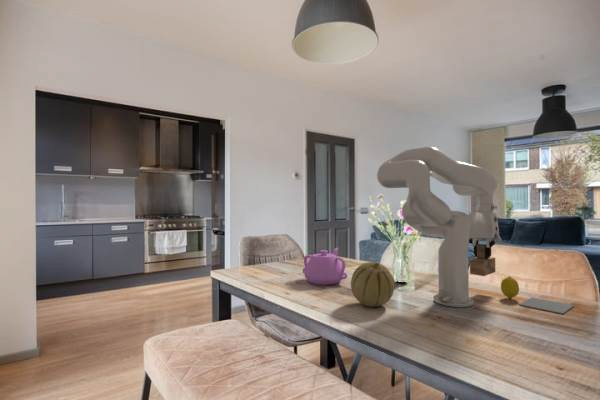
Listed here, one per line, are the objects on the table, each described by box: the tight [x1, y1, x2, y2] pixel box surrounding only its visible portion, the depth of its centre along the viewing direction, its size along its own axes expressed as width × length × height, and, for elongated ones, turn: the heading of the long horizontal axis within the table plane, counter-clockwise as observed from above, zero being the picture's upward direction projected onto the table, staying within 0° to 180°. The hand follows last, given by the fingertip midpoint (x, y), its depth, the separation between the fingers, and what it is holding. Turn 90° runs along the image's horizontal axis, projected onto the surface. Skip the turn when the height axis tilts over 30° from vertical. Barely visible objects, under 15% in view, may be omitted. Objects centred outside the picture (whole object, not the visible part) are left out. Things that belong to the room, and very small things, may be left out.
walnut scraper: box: [469, 242, 496, 277], centre depth 132 cm, size 10×5×11 cm, turn 129°
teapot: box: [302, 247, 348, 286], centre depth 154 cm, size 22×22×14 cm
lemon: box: [500, 275, 520, 299], centre depth 124 cm, size 6×6×8 cm
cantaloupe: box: [350, 261, 395, 308], centre depth 118 cm, size 15×15×15 cm
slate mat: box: [518, 297, 574, 315], centre depth 116 cm, size 12×12×1 cm
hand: (482, 256), depth 132 cm, fingers closed on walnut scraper, 3 cm apart
